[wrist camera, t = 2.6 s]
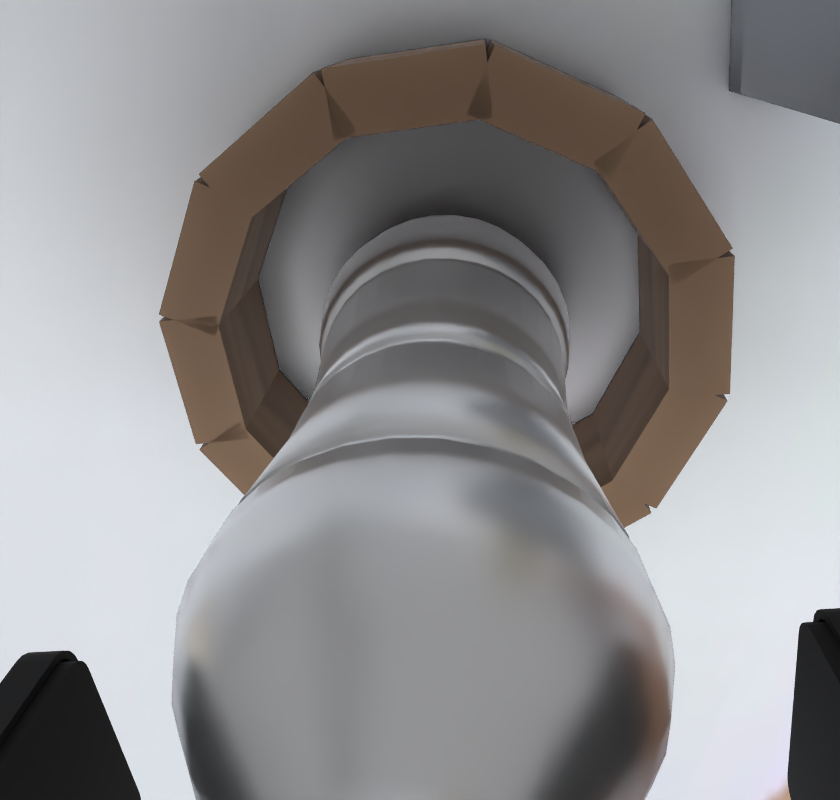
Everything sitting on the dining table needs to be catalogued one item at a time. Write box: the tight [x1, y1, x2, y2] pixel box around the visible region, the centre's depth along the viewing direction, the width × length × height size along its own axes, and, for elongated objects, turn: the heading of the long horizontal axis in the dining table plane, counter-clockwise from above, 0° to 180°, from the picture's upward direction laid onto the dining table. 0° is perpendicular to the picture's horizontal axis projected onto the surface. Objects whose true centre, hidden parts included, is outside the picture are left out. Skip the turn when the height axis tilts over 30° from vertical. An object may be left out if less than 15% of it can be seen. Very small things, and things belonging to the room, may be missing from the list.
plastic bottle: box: [172, 215, 675, 800], centre depth 15 cm, size 6×7×20 cm
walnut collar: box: [159, 39, 735, 528], centre depth 22 cm, size 14×14×4 cm
